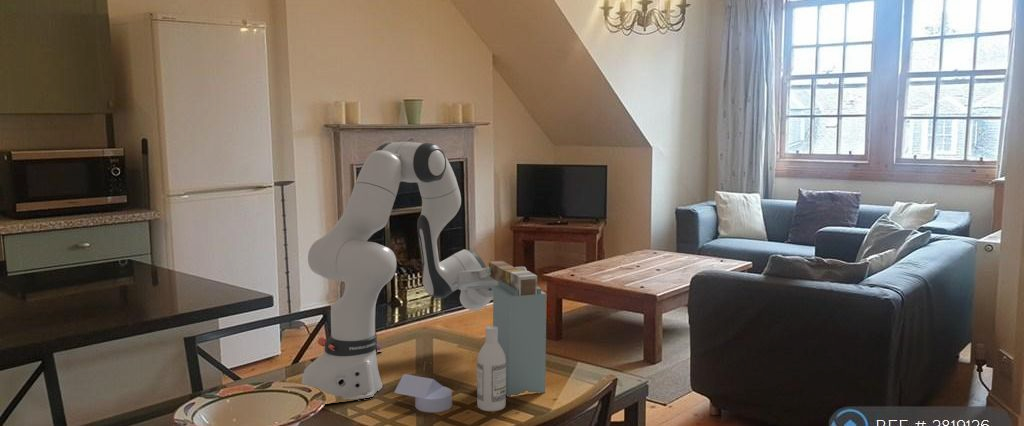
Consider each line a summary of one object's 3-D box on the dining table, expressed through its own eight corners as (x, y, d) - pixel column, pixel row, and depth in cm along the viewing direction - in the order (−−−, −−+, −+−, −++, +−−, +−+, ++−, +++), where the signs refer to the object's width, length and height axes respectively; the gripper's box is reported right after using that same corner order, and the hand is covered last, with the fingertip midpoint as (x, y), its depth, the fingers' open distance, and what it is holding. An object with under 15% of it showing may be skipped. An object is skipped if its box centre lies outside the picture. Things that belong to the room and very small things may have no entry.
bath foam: (509, 403, 194) (509, 324, 191) (500, 413, 187) (501, 332, 184) (482, 400, 196) (482, 322, 193) (473, 410, 189) (473, 330, 186)
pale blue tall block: (492, 381, 209) (493, 280, 205) (527, 377, 212) (528, 278, 208) (508, 397, 198) (509, 291, 194) (545, 392, 201) (546, 288, 197)
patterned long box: (487, 276, 217) (487, 258, 216) (503, 274, 219) (503, 257, 218) (519, 295, 195) (519, 277, 194) (536, 294, 197) (537, 275, 196)
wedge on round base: (394, 405, 192) (440, 415, 186) (393, 379, 191) (440, 387, 186) (413, 393, 200) (458, 402, 195) (413, 368, 199) (458, 376, 194)
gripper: (449, 276, 224) (461, 260, 212) (516, 271, 231) (531, 255, 219) (452, 297, 222) (465, 282, 210) (519, 291, 229) (535, 277, 217)
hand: (499, 269), depth 215 cm, fingers closed on patterned long box, 4 cm apart
